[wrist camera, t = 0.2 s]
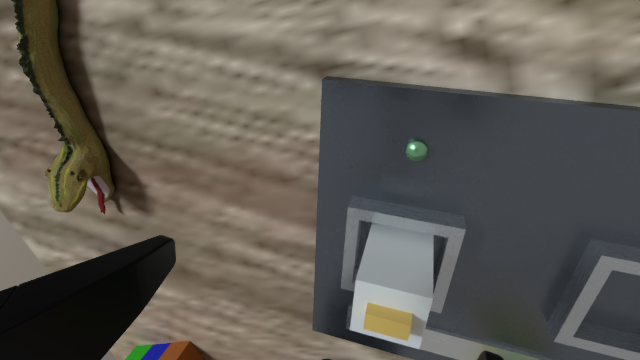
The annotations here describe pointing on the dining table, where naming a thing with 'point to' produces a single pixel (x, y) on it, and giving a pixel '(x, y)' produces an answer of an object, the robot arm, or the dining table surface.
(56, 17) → the toy
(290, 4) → the dining table surface
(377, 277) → the plug
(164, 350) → the toy
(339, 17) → the dining table surface
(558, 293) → the panel
